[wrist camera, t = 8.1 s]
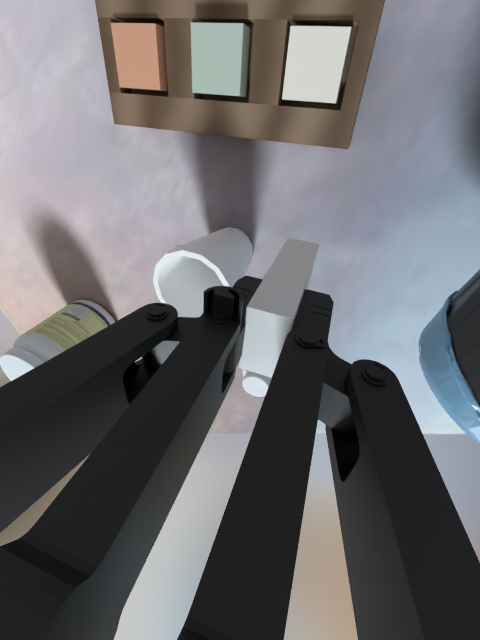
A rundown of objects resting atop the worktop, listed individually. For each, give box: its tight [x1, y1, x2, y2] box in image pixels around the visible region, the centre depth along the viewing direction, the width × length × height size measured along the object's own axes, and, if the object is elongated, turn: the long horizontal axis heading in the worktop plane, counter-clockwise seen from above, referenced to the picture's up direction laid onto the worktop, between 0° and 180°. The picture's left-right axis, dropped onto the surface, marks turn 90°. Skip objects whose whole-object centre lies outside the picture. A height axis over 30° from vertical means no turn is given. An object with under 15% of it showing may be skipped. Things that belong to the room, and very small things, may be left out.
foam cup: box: [153, 227, 253, 317], centre depth 38 cm, size 10×9×13 cm
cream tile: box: [282, 26, 352, 104], centre depth 27 cm, size 5×5×2 cm
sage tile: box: [191, 22, 250, 97], centre depth 28 cm, size 5×5×2 cm
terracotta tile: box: [111, 23, 168, 91], centre depth 31 cm, size 5×5×2 cm
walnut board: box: [95, 0, 385, 149], centre depth 30 cm, size 27×12×3 cm, turn 86°
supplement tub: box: [0, 300, 115, 381], centre depth 56 cm, size 12×12×17 cm
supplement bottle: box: [242, 369, 272, 397], centre depth 46 cm, size 6×6×10 cm
